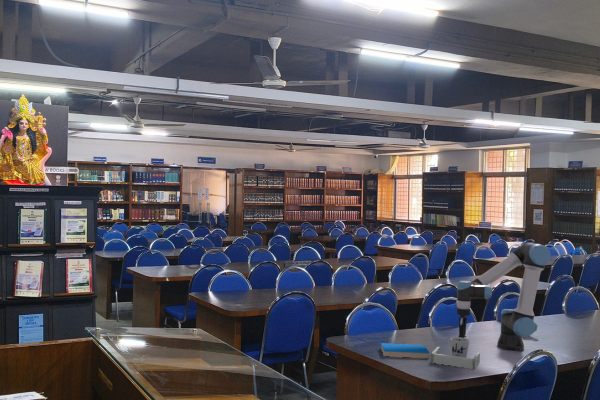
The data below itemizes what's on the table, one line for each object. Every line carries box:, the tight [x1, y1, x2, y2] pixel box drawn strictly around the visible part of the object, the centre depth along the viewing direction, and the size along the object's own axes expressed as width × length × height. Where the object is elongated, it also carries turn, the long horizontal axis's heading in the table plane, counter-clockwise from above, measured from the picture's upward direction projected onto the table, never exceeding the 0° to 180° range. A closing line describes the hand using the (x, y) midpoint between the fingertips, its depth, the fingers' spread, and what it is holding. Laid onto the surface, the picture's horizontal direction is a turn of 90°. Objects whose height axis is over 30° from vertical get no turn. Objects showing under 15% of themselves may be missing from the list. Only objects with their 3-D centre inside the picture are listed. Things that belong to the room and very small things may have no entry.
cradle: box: [430, 346, 481, 370], centre depth 300 cm, size 23×17×5 cm
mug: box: [449, 336, 470, 358], centre depth 312 cm, size 10×15×10 cm
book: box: [380, 342, 430, 359], centre depth 314 cm, size 17×4×25 cm
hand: (461, 348), depth 321 cm, fingers closed
